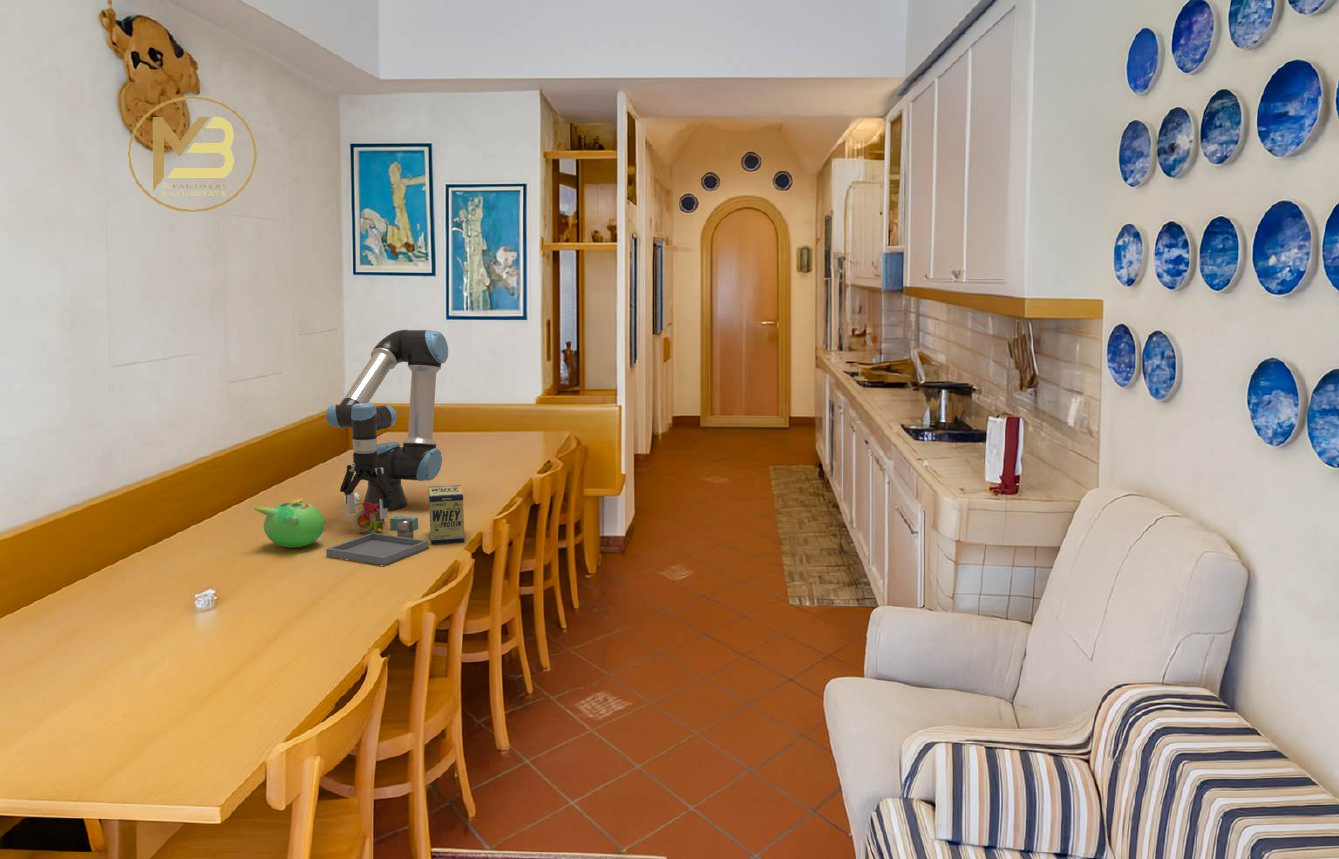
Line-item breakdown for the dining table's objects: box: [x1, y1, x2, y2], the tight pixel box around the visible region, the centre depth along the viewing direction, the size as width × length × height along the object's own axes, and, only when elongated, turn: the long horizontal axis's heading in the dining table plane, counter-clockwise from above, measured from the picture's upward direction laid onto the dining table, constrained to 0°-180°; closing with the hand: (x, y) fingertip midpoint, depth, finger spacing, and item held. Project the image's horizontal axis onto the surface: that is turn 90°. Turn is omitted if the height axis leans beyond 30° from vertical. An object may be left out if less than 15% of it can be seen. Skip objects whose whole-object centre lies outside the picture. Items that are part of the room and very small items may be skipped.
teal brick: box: [389, 515, 419, 532], centre depth 314 cm, size 4×8×4 cm, turn 77°
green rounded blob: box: [253, 497, 325, 549], centre depth 292 cm, size 18×17×15 cm
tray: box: [325, 532, 430, 567], centre depth 287 cm, size 20×22×2 cm
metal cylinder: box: [396, 519, 415, 539], centre depth 303 cm, size 5×5×6 cm
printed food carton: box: [354, 501, 385, 534], centre depth 309 cm, size 6×11×9 cm
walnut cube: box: [363, 509, 386, 526], centre depth 319 cm, size 5×5×5 cm
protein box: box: [428, 485, 465, 545], centre depth 304 cm, size 10×16×16 cm
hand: (367, 516), depth 308 cm, fingers open, 13 cm apart
